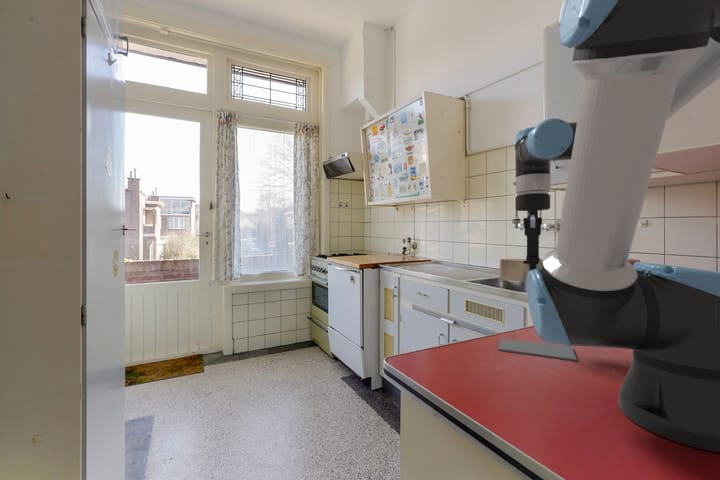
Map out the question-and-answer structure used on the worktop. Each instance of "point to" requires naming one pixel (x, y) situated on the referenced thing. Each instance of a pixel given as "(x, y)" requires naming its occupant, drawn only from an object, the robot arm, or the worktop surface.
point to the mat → (537, 349)
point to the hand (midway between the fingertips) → (532, 289)
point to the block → (514, 269)
